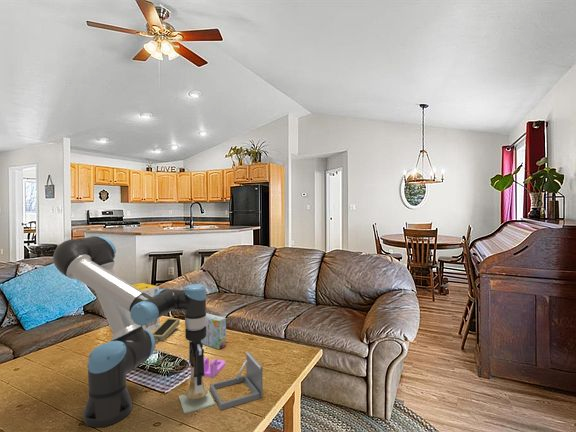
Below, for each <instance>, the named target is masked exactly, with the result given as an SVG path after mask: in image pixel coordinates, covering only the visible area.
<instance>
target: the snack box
mask: <svg viewBox="0 0 576 432" xmlns="http://www.w3.org/2000/svg"><path fill="white" fill-rule="evenodd" d="M206 316H207V317H208V318H207V319H206V337H205V338H204V339H202V340H201V343H202V344H203V346H207V347H210V348H213V349H216V350H219V351H220V350H222V349H224V348H225V347H227V346H226V345H227V318H226V317H223V316H219V315H216V314H211V313H208V312H206Z"/></svg>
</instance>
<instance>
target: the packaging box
mask: <svg viewBox="0 0 576 432" xmlns="http://www.w3.org/2000/svg"><path fill="white" fill-rule="evenodd" d="M131 285H132V286H134V287H136V288H137V289H139V290H141V291H142V292H144V293H146V294H147V295H149V296H151V297H153V296H154V294H155V293H156V292H157V290H159V289H160V286H159V285H154V284H150V283H145V282H140V283H134V284H131ZM160 325H161V324H160V317H159V318H158V319H156V320H155V321H153V322H151V323H149V324H146V325H142V327H143V329H145V330H148V332H154V331H155V330H156V329H157V328H158V327H159V326H160Z"/></svg>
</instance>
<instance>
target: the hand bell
mask: <svg viewBox="0 0 576 432" xmlns="http://www.w3.org/2000/svg"><path fill="white" fill-rule="evenodd" d="M192 363H193V366H194V375H195V363H194V357H193V356H192ZM208 390H209V388H208V387H207V386H206V385H205V384H204V382H203V392H201V393H198V394H195V377H192V378H191V377H190V380H189V386H188V388H187V390H185V394H184V395H185V396H186V397H187V398H189V399H199V398H202V397H204V396H205V395H206V394H207V393H208Z"/></svg>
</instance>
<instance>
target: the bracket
mask: <svg viewBox="0 0 576 432" xmlns="http://www.w3.org/2000/svg"><path fill="white" fill-rule="evenodd" d="M225 366H226V360H223V359H216V358H213V359H211V361H210V360H209V358H208V357H204V376H203V377H208V378H212V379H213V378H215V376H216V375H217V374H218V373H219V372H220V371H222V369H223V368H224V367H225Z"/></svg>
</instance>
